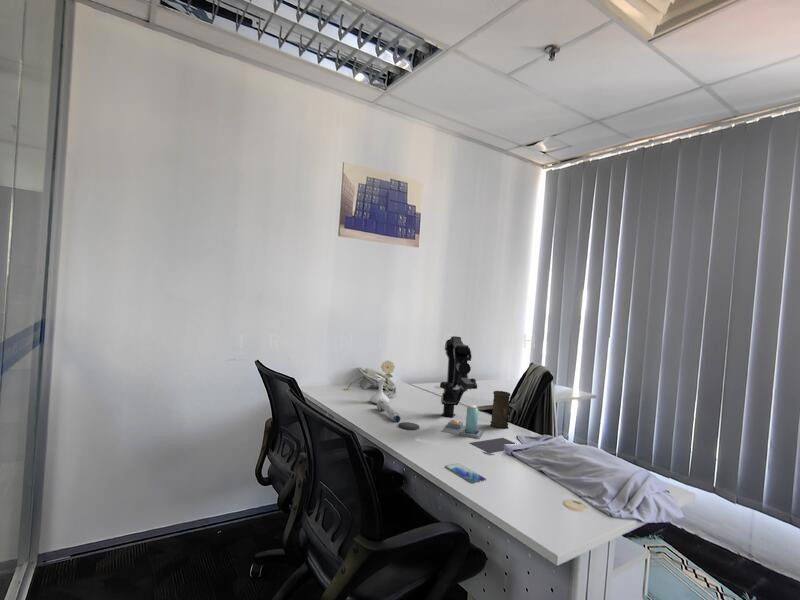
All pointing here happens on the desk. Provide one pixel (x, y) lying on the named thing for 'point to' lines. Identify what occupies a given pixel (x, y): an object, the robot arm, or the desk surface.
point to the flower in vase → (387, 368)
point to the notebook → (492, 445)
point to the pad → (408, 426)
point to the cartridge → (471, 419)
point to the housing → (461, 430)
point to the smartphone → (465, 473)
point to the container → (500, 410)
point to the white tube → (388, 410)
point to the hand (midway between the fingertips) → (457, 402)
